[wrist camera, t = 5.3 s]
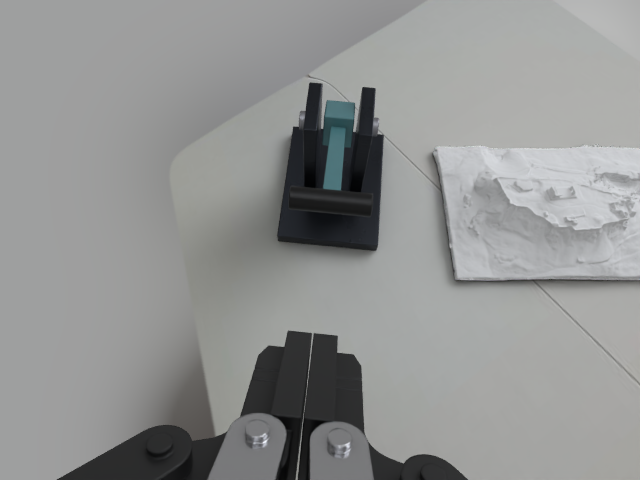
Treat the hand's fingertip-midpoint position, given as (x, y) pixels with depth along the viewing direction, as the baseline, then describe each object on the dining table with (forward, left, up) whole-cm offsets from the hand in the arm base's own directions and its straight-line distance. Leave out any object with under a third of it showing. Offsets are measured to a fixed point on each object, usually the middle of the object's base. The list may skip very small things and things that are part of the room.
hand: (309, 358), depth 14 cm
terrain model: (+28, -10, -25) cm, 39 cm away
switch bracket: (+18, +9, -25) cm, 32 cm away
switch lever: (+14, +7, -14) cm, 21 cm away
